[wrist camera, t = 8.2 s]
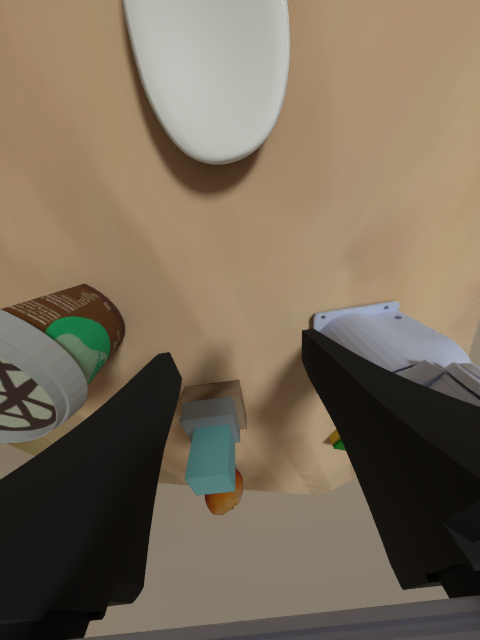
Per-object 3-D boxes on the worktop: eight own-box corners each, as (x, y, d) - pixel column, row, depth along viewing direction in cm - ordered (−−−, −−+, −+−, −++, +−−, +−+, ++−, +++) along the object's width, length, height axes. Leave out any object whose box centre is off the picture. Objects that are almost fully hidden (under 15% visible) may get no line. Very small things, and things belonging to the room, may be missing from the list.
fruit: (200, 467, 35) (218, 518, 30) (233, 447, 40) (253, 488, 35) (195, 483, 39) (209, 531, 34) (225, 464, 44) (242, 503, 38)
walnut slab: (238, 377, 26) (239, 394, 23) (245, 410, 30) (247, 428, 27) (185, 384, 26) (180, 402, 23) (199, 416, 30) (196, 434, 27)
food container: (122, 372, 24) (58, 459, 15) (71, 355, 22) (-34, 442, 13) (149, 299, 19) (78, 367, 10) (86, 270, 17) (-65, 321, 8)
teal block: (229, 424, 22) (228, 474, 18) (235, 442, 24) (235, 491, 20) (194, 428, 22) (184, 478, 18) (203, 446, 24) (196, 495, 20)
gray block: (232, 396, 23) (232, 414, 21) (239, 424, 26) (240, 442, 24) (184, 402, 24) (179, 420, 21) (197, 429, 27) (194, 447, 24)
